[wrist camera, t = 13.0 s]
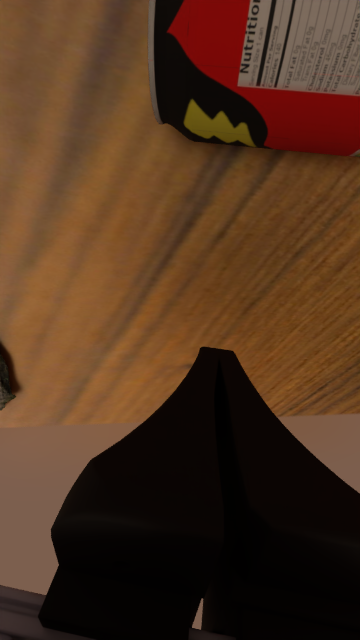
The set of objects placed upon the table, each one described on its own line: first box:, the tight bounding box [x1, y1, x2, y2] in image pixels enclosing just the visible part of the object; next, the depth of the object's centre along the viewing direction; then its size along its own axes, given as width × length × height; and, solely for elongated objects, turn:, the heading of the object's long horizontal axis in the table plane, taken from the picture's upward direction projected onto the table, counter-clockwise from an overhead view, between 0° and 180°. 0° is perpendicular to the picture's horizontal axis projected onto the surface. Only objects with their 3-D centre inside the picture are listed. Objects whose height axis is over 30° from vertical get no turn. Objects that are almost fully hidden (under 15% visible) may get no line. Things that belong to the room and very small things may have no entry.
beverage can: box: [148, 0, 360, 157], centre depth 12 cm, size 6×6×12 cm
